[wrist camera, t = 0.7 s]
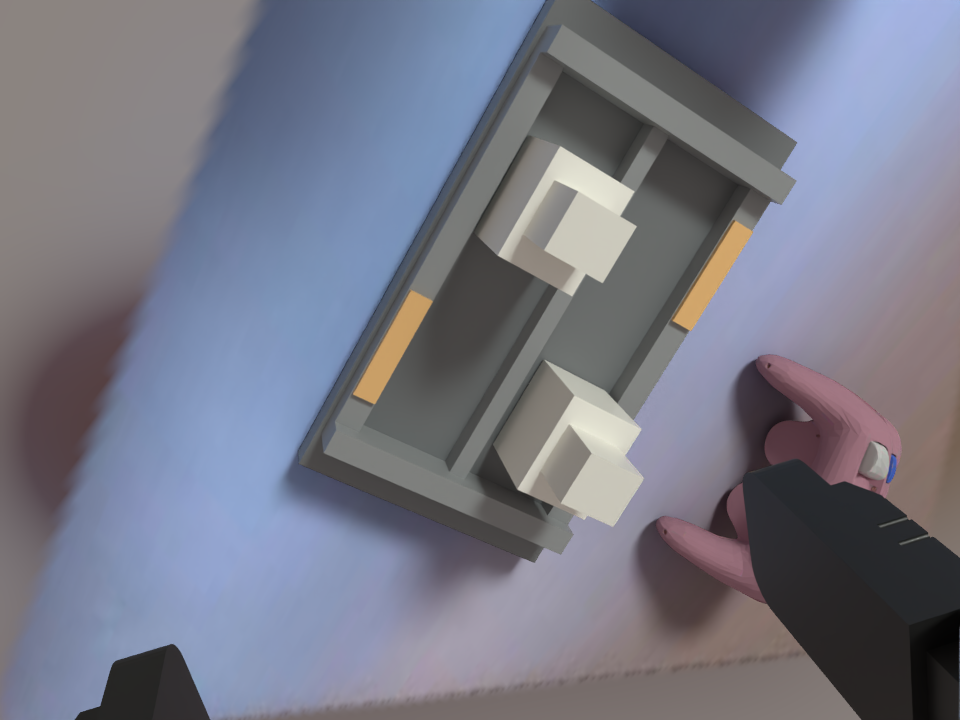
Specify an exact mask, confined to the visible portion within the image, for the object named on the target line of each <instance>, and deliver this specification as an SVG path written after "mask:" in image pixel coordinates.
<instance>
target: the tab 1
mask: <svg viewBox="0 0 960 720" xmlns="http://www.w3.org/2000/svg"><path fill="white" fill-rule="evenodd" d="M634 192H635V191H633V190H631V189H630V188H628V187H626V186H625V185H623V184H622V183H620V182H618V181H617V180H615V179H613V178H612V177H610V176H608V175H607V174H605V173H604V172H602V171H600V170H599V169H597V168H595V167H594V166H592V165H590V164H589V163H587V162H586V161H584V160H582V159H581V158H579V157H577V156H576V155H574V154H572V153H571V152H569V151H568V150H566V149H564V148H563V147H561V146H559V145H556V144H553V143H550V142H547V141H544V140H541V139H539V138H536V137H533V136H530V135H528V136H527V138H526V140H525V142H524V143H523V145H522V147H521V149H520V151H519V152H518V154H517V156H516V158H515V159H514V161H513V163H512V165H511V166H510V168H509V170H508V172H507V174H506V175H505V177H504V179H503V181H502V182H501V184H500V186H499V188H498V190H497V191H496V193H495V195H494V197H493V198H492V200H491V202H490V204H489V206H488V207H487V209H486V211H485V213H484V214H483V216H482V218H481V220H480V221H479V223H478V225H477V227H476V229H475V230H474V232H473V233H474V234H475V235H476V236H478V237H479V238H480V239H481V240H482V241H483V242H484V243H485V244H486V245H487V246H488V247H489V248H490V249H491V250H492V251H493V252H494V253H495V254H496V255H498V256H499V257H501V258H503V259H505V260H507V261H508V262H510V263H512V264H514V265H516V266H518V267H519V268H521V269H523V270H525V271H527V272H528V273H530V274H532V275H534V276H536V277H538V278H539V279H541V280H543V281H545V282H547V283H549V284H550V285H552V286H554V287H556V288H558V289H560V290H561V291H563V292H565V293H567V294H569V295H571V296H573V294H574V293H575V291H576V289H577V288H578V286H579V284H580V282H581V281H582V279H583V277H584V276H585V274H587V275H589V276H591V277H592V278H594V279H596V280H598V281H600V282H601V283H603V282H604V280H605V279H606V277H607V275H608V274H609V272H610V270H611V269H612V267H613V265H614V264H615V262H616V260H617V259H618V257H619V255H620V254H621V252H622V250H623V249H624V247H625V245H626V244H627V242H628V240H629V239H630V237H631V235H632V234H633V232H634V230H635V229H636V227H637V226H635V225H634V224H632V223H630V222H629V221H627V220H625V219H624V218H622V217H620V215H621V214H622V212H623V210H624V209H625V207H626V205H627V204H628V202H629V200H630V199H631V197H632V195H633V193H634Z"/></svg>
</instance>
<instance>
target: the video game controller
mask: <svg viewBox="0 0 960 720" xmlns="http://www.w3.org/2000/svg"><path fill="white" fill-rule="evenodd" d="M756 367H757V369H758V371H759V372H760V373H761V375H762V376H763V377H764V378H765V379H766V380H767V381H768V382H769V383H770V384H771V385H772V386H773V387H774V388H775V389H777V390H778V391H779V392H781V393H782V394H784V395H785V396H786V397H788V398H789V399H790V400H792V401H793V402H794V403H796V404H797V405H798V406H800V407H801V408H802V409H803V410H804V411H805V412H806V413H807V414H808V415H809V416H810V417H811V418H812V419H813V420H811V421H808V422H799V421H782V422H780V423H778V424H776V425H775V426H774V427H772V428H771V430H770V431H769V433H768V435H767V437H766V441H765V447H764V449H765V455H766V458H767V459H768V461H769V462H770V464H771V465H775V464H778V463H781V462H785V461H788V460H791V459H799V460H801V461H803V462H804V463H805V464H807V465H808V466H809V467H810V468H811V469H812V470H814V471H815V472H816V473H817V474H818V475H819V476H821V477H822V478H823V479H824V480H825V481H826V482H828V483H829V484H830V485H833V484H837V483H840V482H843V481H846V482H849V483H851V484H854V485H856V486H859V487H862V488H864V489H867V490H870V491H872V492H875V493H878V494H880V495H882V496H883V497H884V498H885V499H886V496H887V493H888V489H889V486H890V482H891V480H892V478H893V477H894V474H895V471H896V468H897V466H898V464H899V462H900V457H901V440H900V437H899V434H898V432H897V430H896V429H895V428H894V426H893V425H892V424H891V423H890V422H889V421H888V420H887V419H886V418H884V417H883V416H881V415H880V414H879V413H878V412H877V411H876V410H875V409H873V408H872V407H871V406H870V405H869V404H868V403H866V402H865V401H864V400H863V399H861V398H860V397H859V396H857V395H856V394H855V393H853V392H852V391H850V390H849V389H847V388H845V387H844V386H842V385H841V384H839V383H837V382H836V381H834V380H832V379H830V378H828V377H826V376H824V375H822V374H819V373H817V372H815V371H813V370H811V369H809V368H806V367H804V366H802V365H800V364H798V363H796V362H793V361H791V360H789V359H786V358H783V357H780V356H777V355H762V356H760V357H758V359H757V360H756ZM727 512H728V515H729V517H730V520H731V522H732V523H733V525H734V527H735V530H736V532H737V535H738V537H737V538H736V539H731V538H726V537H722V536H717V535H715V534H713V533H711V532H709V531H707V530H704V529H702V528H700V527H698V526H696V525H694V524H691V523H689V522H686V521H683V520H680V519H678V518H672V517H667V516H662V517H660V518H659V519H658V520H657V522H656V528H657V530H658V532H659V534H660V535H661V537H662V538H663V539H664V541H665V542H666V543H667V544H668V545H669V546H670V547H671V548H672V549H673V550H675V551H676V552H677V553H679V554H680V555H682V556H683V557H684V558H686V559H687V560H689V561H690V562H692V563H693V564H695V565H696V566H698V567H699V568H700V569H702V570H703V571H705V572H706V573H708V574H709V575H711V576H712V577H714V578H716V579H717V580H719V581H720V582H722V583H724V584H726V585H728V586H730V587H732V588H734V589H736V590H738V591H740V592H742V593H743V594H745V595H747V596H749V597H751V598H753V599H755V600H757V601H759V602H762V603H765V604H767V603H766V601H765V599H764V598H763V596H762V594H761V592H760V589H759V587H758V585H757V582H756V579H755V576H754V572H753V568H752V562H751V554H750V546H749V538H748V529H747V521H746V512H745V504H744V496H743V483H741V484H739V485H738V486H736V487H735V488H734V489H733V490H732V492H731V493H730V495H729V497H728V499H727Z"/></svg>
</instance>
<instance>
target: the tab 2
mask: <svg viewBox="0 0 960 720" xmlns="http://www.w3.org/2000/svg"><path fill="white" fill-rule="evenodd" d="M641 430H642V429H641V428H640V427H639V426H638V425H637V424H636V423H635V422H634V421H633V420H632V419H631V418H630V416H629V415H628V414H627V413H626V412H625V411H624V410H623V409H622V408H621V407H620V406H619V405H618V404H617V403H616V402H615V401H614V400H613V399H612V398H611V396H610V395H609V394H608V393H607V392H606V391H605V390H603V389H601V388H599V387H597V386H595V385H593V384H591V383H589V382H587V381H585V380H583V379H581V378H579V377H577V376H575V375H573V374H572V373H570V372H568V371H566V370H564V369H562V368H560V367H558V366H556V365H554V364H552V363H550V362H548V361H546V360H543V361H542V363H541V365H540V366H539V368H538V370H537V371H536V373H535V375H534V376H533V378H532V380H531V381H530V383H529V385H528V386H527V388H526V390H525V391H524V393H523V395H522V396H521V398H520V400H519V401H518V403H517V405H516V406H515V408H514V410H513V411H512V413H511V415H510V416H509V418H508V420H507V421H506V423H505V425H504V426H503V428H502V430H501V431H500V433H499V435H498V437H497V438H496V440H495V442H494V443H493V446H494V447H495V449H496V451H497V453H498V455H499V457H500V459H501V460H502V462H503V464H504V466H505V468H506V470H507V472H508V473H509V475H510V477H511V479H512V481H513V483H514V485H515V486H516V488H517V490H519V491H522V492H524V493H526V494H528V495H531V496H533V497H535V498H537V499H539V500H542V501H544V502H546V503H548V504H551V505H553V506H555V507H557V508H560V509H562V510H564V511H566V512H568V513H571V514H573V515H575V516H577V517H580V518H582V519H584V520H585V518H586V517H587V515H588V516H590V517H592V518H595V519H597V520H599V521H601V522H603V523H606V524H608V525H610V526H612V527H614V525H615V523H616V522H617V520H618V519H619V517H620V516H621V514H622V512H623V511H624V509H625V508H626V506H627V505H628V503H629V502H630V500H631V498H632V497H633V495H634V494H635V492H636V491H637V489H638V487H639V486H640V484H641V483H642V481H643V480H644V478H643V476H642V475H641V474H640V473H639V472H638V470H637V469H636V468H635V467H634V466H633V465H632V463H631V462H630V461H629V460H628V459H627V458H626V456H625V455H626V453H627V452H628V450H629V449H630V447H631V446H632V444H633V442H634V441H635V439H636V438H637V436H638V434H639V433H640V431H641Z"/></svg>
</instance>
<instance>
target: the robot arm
mask: <svg viewBox="0 0 960 720" xmlns="http://www.w3.org/2000/svg"><path fill="white" fill-rule="evenodd" d="M743 496H744V504H745V512H746V521H747V529H748V538H749V546H750V554H751V562H752V568H753V572H754V576H755V579H756V582H757V585H758V587H759V589H760V592H761V594H762V596H763V598H764V599H765V601H766V603H767V604H768V606H769V607H770V609H771V610H772V611H773V612H774V614H775V615H776V616H777V617H778V618H779V620H780V621H781V622H782V623H783V624H784V626H785V627H786V628H787V629H788V631H789V632H790V633H791V634H792V635H793V637H794V638H795V639H796V640H797V642H798V643H799V644H800V645H801V646H802V648H803V649H804V650H805V651H806V653H807V654H808V655H809V656H810V657H811V659H812V660H813V661H814V662H815V664H816V665H817V666H818V667H819V668H820V669H821V671H822V672H823V673H824V674H825V675H826V677H827V678H828V679H829V681H830V682H831V683H832V684H833V685H834V687H835V688H836V689H837V690H838V692H839V693H840V694H841V695H842V696H843V698H844V699H845V700H846V701H847V703H848V704H849V705H850V706H851V707H852V709H853V710H854V711H855V712H856V714H857V715H858V716H859V717H860V718H861V720H960V558H959V557H958V556H957V555H956V554H954V553H953V552H952V551H951V550H949V549H948V548H947V547H946V546H944V545H943V544H942V543H941V542H939V541H938V540H937V539H936V538H934V537H931V538H930V537H929V535H928V532H927V531H926V530H924V529H923V528H922V527H921V526H919V525H918V524H917V523H916V522H914V521H913V520H912V519H911V520H908V519H907V515H906V514H904V513H903V512H902V511H901V510H899V509H898V508H897V507H896V506H894V505H893V504H892V503H890V502H889V501H888V500H887V499H885V498H884V497H883V496H882V495H880V494H878V493H875V492H872V491H870V490H867V489H864V488H862V487H859V486H856V485H854V484H851V483H849V482H846V481H843V482H840V483H837V484H833V485H830V484H829V483H828V482H826V481H825V480H824V479H823V478H822V477H821V476H819V475H818V474H817V473H816V472H815V471H814V470H812V469H811V468H810V467H809V466H808V465H807V464H805V463H804V462H803V461H801V460H799V459H791V460H788V461H785V462H781V463H778V464H775V465H771V466H768V467H765V468H761V469H758V470H755V471H751V472H748V473H746V474H745V475H744V477H743ZM75 720H210V718H209V716H208V714H207V711H206V709H205V707H204V704H203V702H202V700H201V697H200V695H199V693H198V691H197V688H196V686H195V684H194V681H193V679H192V677H191V674H190V672H189V670H188V667H187V665H186V663H185V660H184V658H183V656H182V654H181V652H180V651H179V649H178V648H177V647H176V646H175V645H173V644H170V645H167V646H163V647H160V648H157V649H153V650H150V651H147V652H143V653H140V654H137V655H133V656H130V657H127V658H124V659H120V660H117V661H115V662H114V663H113V665H112V667H111V670H110V674H109V677H108V681H107V684H106V688H105V691H104V695H103V698H102V702H101V706H100V707H96V708H93V709H90V710H86V711H83V712H80V713H79V715H78V716H77V717H76V719H75Z"/></svg>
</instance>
